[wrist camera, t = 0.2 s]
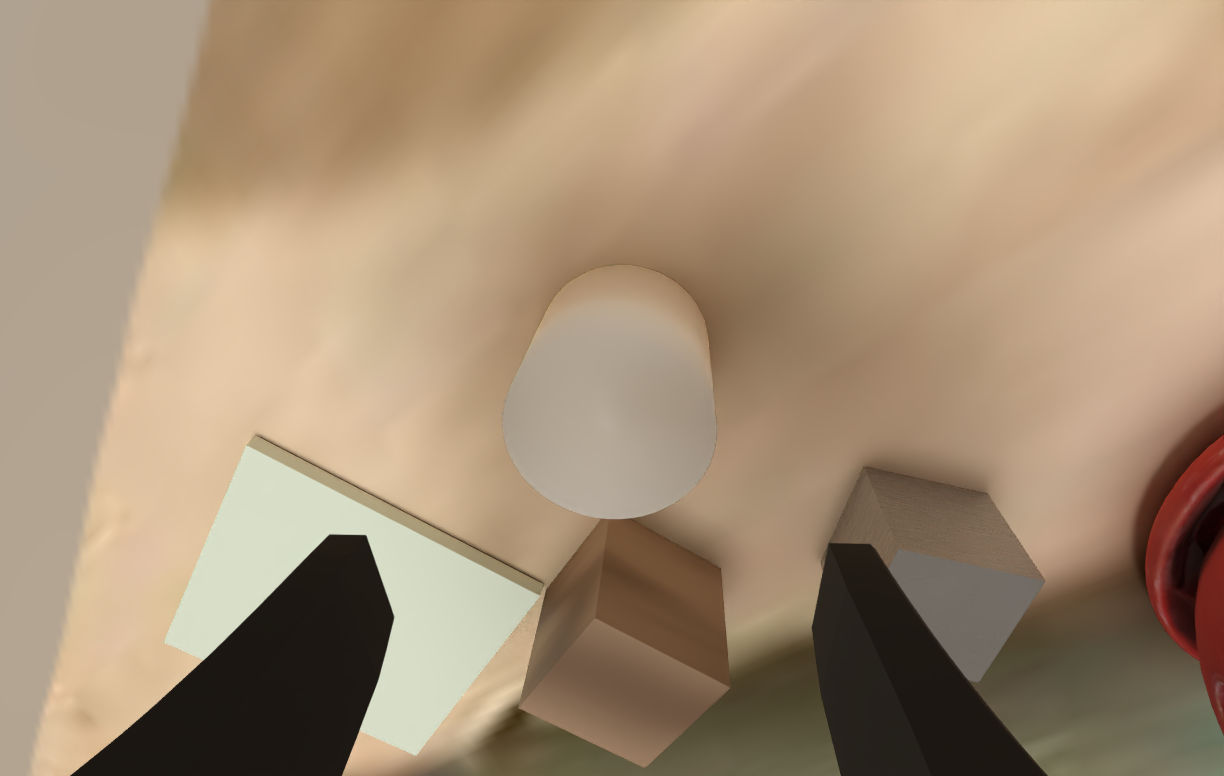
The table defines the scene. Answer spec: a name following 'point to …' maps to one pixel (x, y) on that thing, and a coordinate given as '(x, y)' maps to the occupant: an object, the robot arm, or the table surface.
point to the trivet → (409, 568)
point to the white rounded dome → (614, 396)
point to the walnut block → (629, 642)
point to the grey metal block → (945, 560)
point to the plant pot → (1193, 567)
